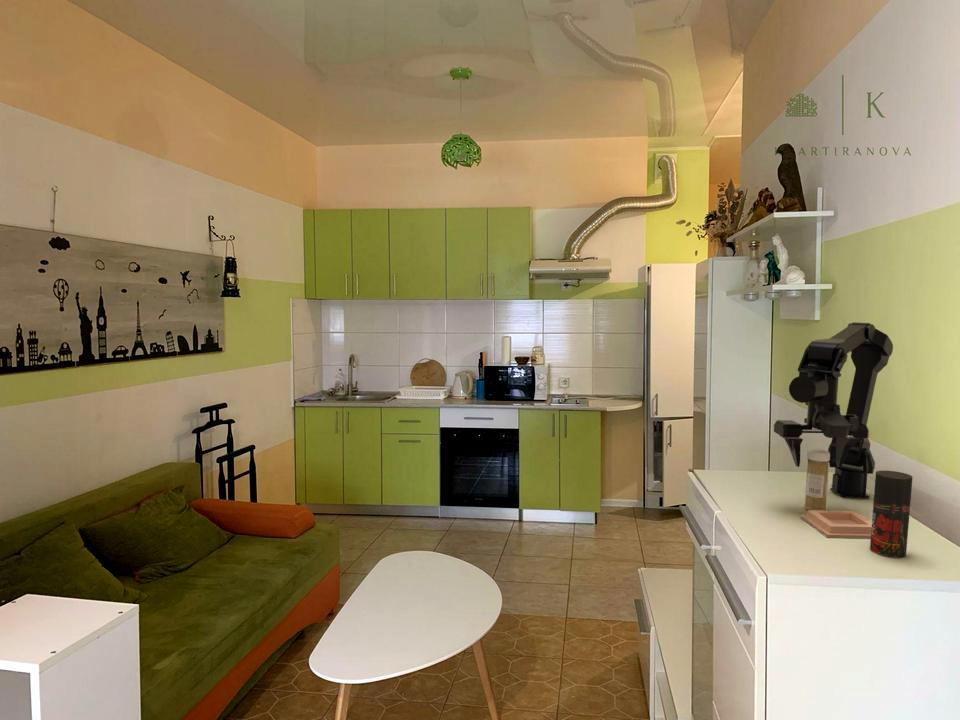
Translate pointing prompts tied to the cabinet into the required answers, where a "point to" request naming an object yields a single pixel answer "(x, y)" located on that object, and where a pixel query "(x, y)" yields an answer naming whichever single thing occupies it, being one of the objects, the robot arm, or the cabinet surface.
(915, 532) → the cabinet surface
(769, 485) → the cabinet surface
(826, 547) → the cabinet surface
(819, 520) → the tray
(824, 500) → the sprinkles bottle
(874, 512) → the deodorant
